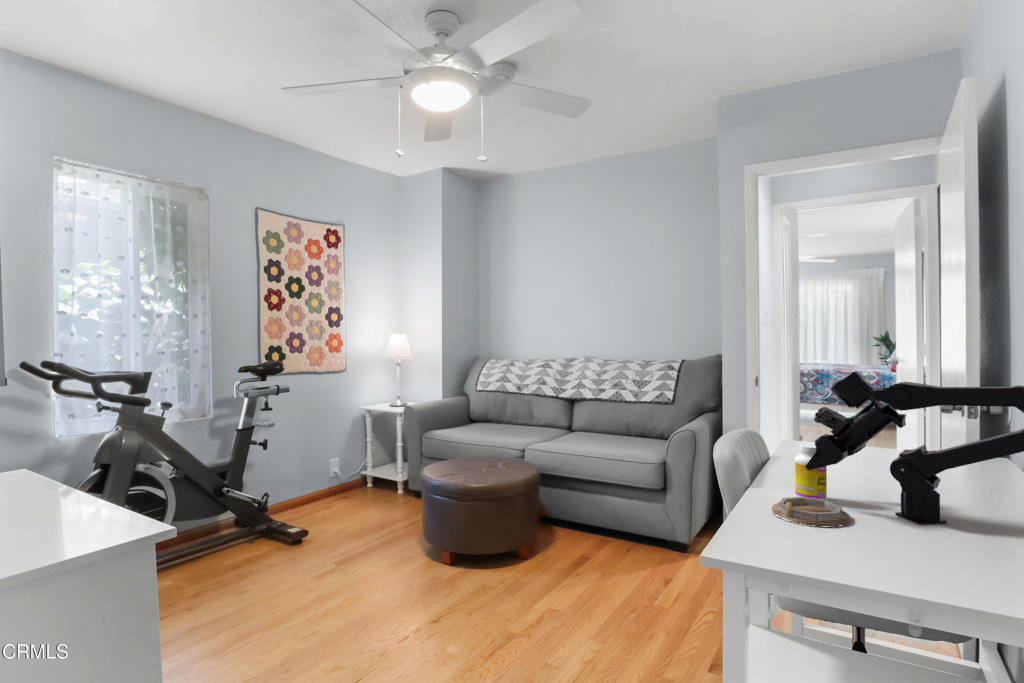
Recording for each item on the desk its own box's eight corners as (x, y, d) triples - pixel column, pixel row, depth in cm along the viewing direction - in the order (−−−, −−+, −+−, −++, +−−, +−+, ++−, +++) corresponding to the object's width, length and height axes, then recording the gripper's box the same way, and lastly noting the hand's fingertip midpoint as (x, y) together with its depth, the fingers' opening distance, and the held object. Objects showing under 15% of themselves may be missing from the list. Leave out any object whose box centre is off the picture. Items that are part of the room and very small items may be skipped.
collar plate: (867, 525, 114) (867, 506, 114) (799, 529, 112) (799, 510, 112) (818, 503, 129) (818, 487, 129) (758, 506, 127) (758, 490, 127)
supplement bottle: (819, 505, 127) (819, 449, 127) (790, 498, 133) (789, 445, 132) (831, 499, 132) (831, 445, 132) (802, 493, 137) (802, 441, 137)
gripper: (850, 393, 134) (801, 433, 142) (825, 400, 121) (773, 443, 129) (888, 429, 128) (836, 468, 136) (866, 440, 115) (809, 483, 124)
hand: (813, 465), depth 132 cm, fingers open, 9 cm apart
